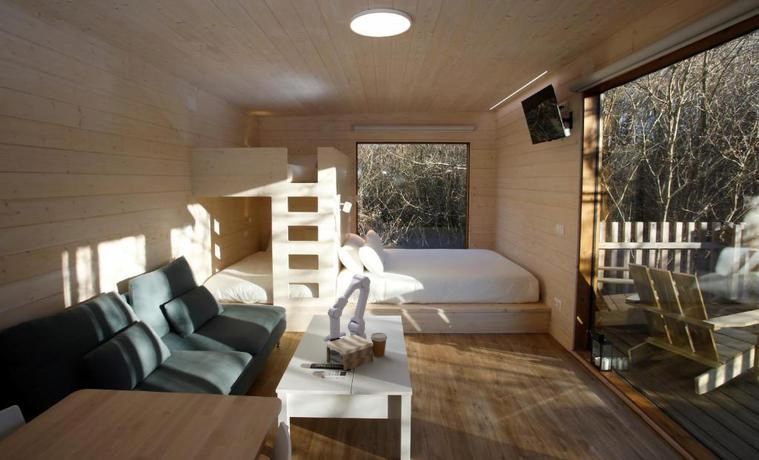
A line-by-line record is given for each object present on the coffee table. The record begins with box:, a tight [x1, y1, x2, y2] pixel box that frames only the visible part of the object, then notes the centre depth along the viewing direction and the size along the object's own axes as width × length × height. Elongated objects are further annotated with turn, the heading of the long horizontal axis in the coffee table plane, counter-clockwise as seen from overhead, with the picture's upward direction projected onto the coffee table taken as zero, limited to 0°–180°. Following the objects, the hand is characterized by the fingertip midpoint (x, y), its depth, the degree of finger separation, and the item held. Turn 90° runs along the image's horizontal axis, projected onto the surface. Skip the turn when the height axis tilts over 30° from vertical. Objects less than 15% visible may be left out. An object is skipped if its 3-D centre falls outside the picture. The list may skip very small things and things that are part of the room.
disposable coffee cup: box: [370, 332, 388, 358], centre depth 259 cm, size 10×10×12 cm
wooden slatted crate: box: [326, 334, 374, 371], centre depth 250 cm, size 20×16×11 cm
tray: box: [330, 348, 344, 365], centre depth 253 cm, size 11×18×6 cm, turn 42°
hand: (335, 350), depth 261 cm, fingers closed, pressing on tray
